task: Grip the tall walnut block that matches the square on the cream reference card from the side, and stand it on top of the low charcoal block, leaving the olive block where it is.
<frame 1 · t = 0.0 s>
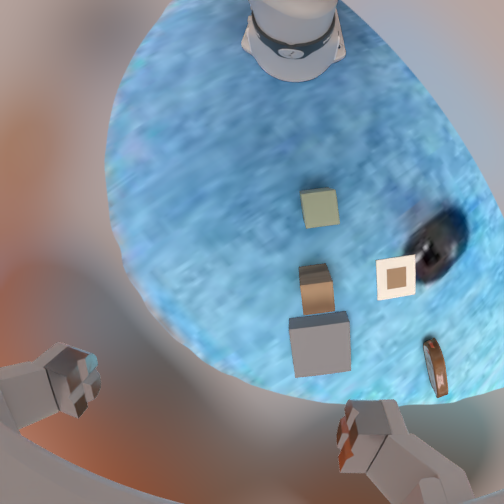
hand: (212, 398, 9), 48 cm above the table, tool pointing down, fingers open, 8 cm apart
olive block: (315, 203, 54), on the table
walnut block: (313, 278, 57), on the table
reference card: (396, 277, 55), on the table
base block: (319, 338, 60), on the table
tin: (429, 358, 59), on the table
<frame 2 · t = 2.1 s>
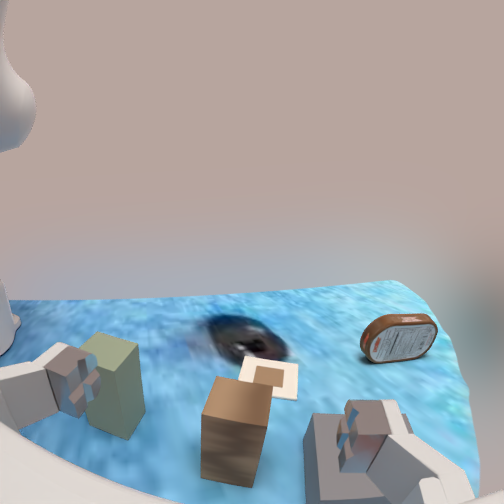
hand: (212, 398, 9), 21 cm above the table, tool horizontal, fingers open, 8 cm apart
olive block: (117, 418, 29), on the table
walnut block: (231, 465, 26), on the table
reference card: (268, 378, 41), on the table
base block: (354, 478, 25), on the table
tin: (393, 360, 47), on the table
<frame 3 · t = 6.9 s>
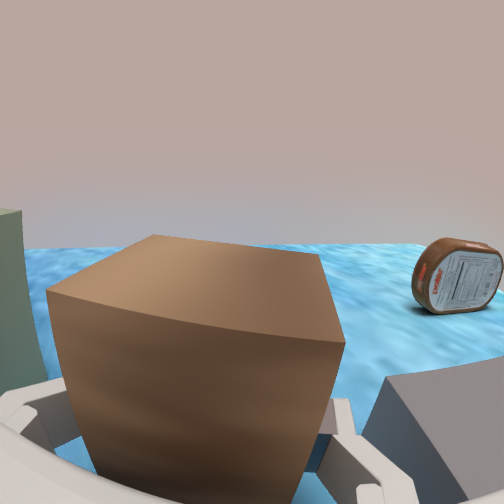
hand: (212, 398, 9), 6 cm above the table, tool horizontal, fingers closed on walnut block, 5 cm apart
walnut block: (206, 503, 9), on the table, touching gripper
base block: (477, 495, 8), on the table
tin: (454, 312, 31), on the table
when the fingers open (12 cm above the table, at t = 11.4 s): walnut block drops 2 cm, resting on base block.
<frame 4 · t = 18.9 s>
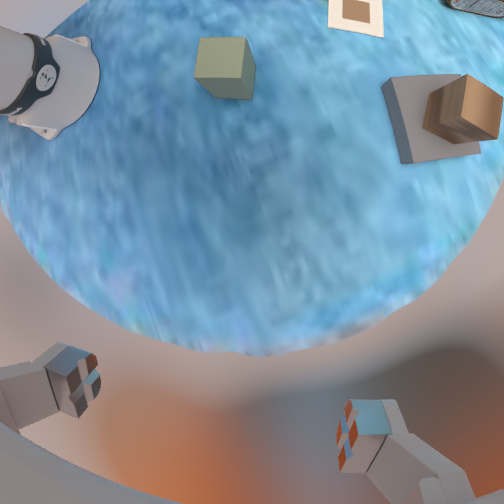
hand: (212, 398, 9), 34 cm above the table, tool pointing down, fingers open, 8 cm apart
olive block: (235, 81, 38), on the table
walnut block: (442, 118, 31), point 5 cm above the table, touching base block
reference card: (355, 11, 33), on the table
base block: (425, 120, 36), on the table, touching walnut block
tin: (471, 9, 29), on the table
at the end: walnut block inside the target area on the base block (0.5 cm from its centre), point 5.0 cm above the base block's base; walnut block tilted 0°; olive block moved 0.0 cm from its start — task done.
